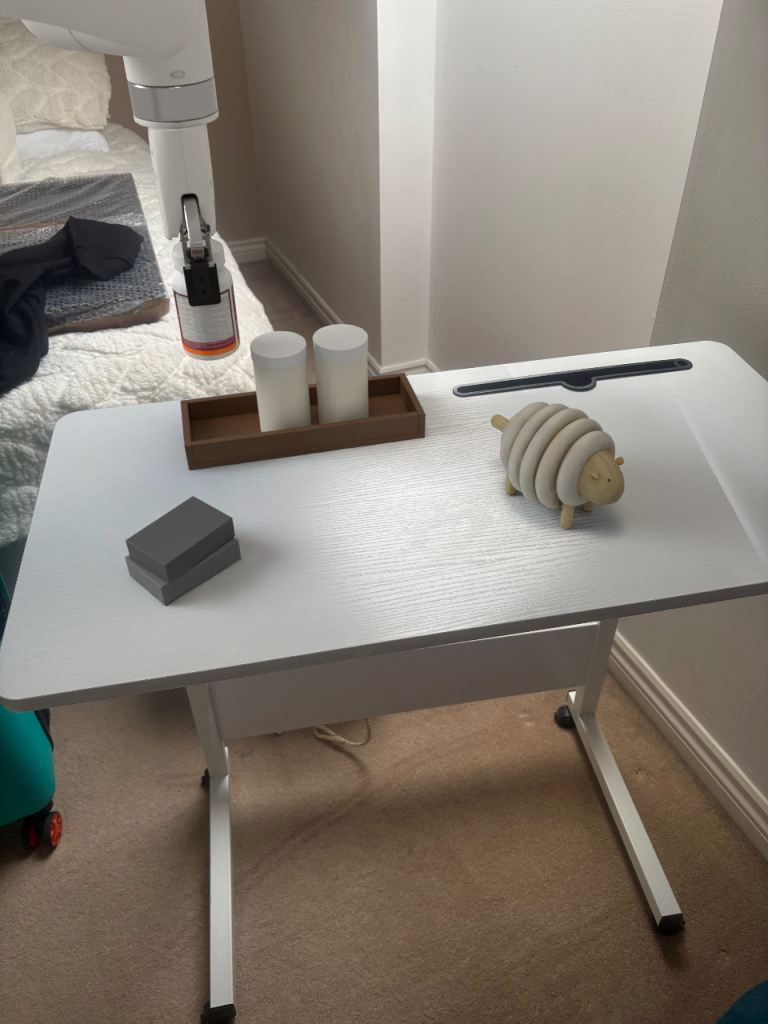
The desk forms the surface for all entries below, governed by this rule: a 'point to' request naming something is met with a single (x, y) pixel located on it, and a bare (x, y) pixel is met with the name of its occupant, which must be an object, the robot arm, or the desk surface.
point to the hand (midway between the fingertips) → (202, 288)
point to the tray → (238, 438)
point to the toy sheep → (559, 458)
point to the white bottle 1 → (281, 380)
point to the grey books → (182, 549)
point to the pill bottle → (206, 311)
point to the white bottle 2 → (341, 373)
